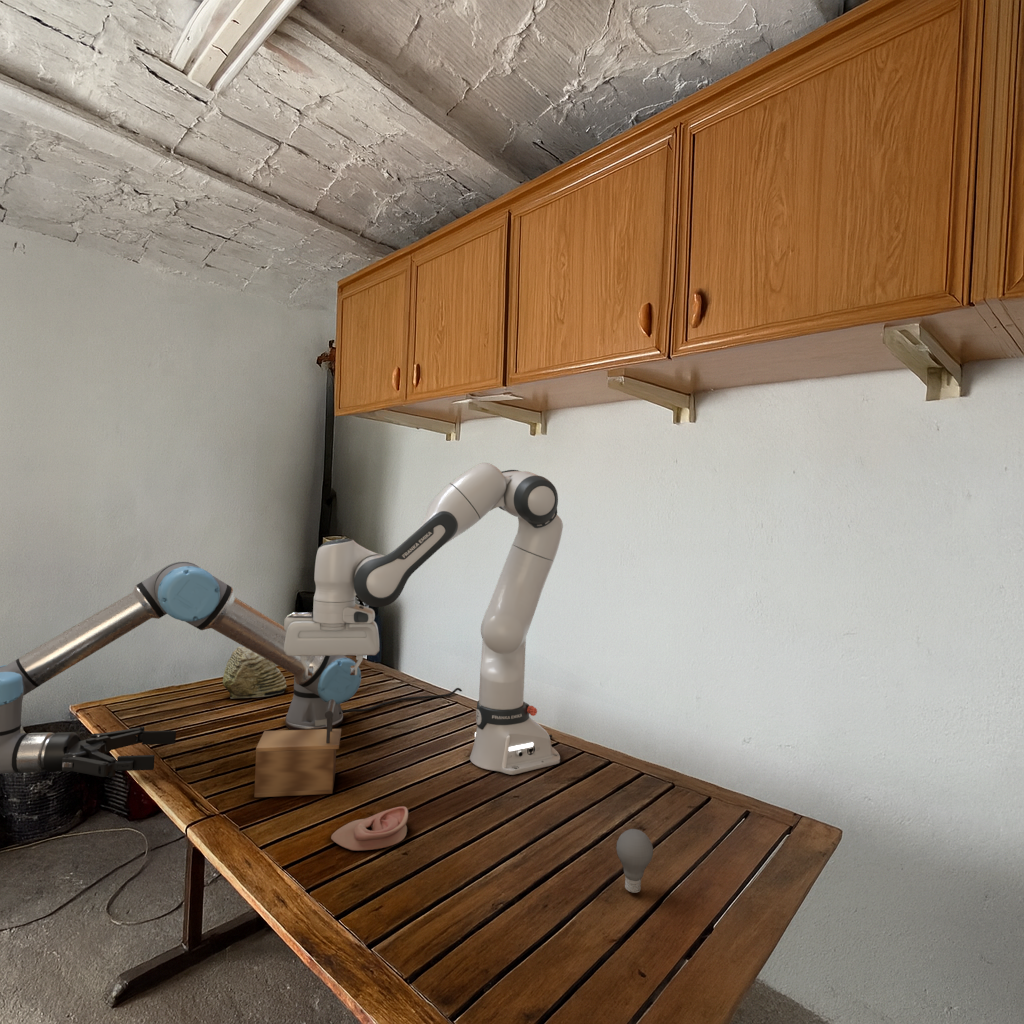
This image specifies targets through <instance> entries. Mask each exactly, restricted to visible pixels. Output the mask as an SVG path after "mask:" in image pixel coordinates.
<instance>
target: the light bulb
mask: <svg viewBox="0 0 1024 1024" xmlns="http://www.w3.org/2000/svg"><path fill="white" fill-rule="evenodd" d="M615 849H616V854H617V857H618V859H619V861H620V863H621V865H622V867H623V873H624V874H623V875H624V876H625V878H624V888H625V890H627V891H628V892H630V893H634V894H635V893H639V892H640V891H641V889H642V887H641V886H642V879H643V877H644V875H645V871H646V868H647V867H648V866H649V864H650V863H651V861H652V859H653V855H654V847H653V843H652V841H651V838H649V836H648V835H647V834H646V833H645V832H643V831H642V830H641V829H636V828H629V829H627V830H625V831H623V832H622V833H621V834H620V835H619V837H618V839H617V841H616V847H615Z"/></svg>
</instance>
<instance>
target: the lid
mask: <svg viewBox="0 0 1024 1024" xmlns="http://www.w3.org/2000/svg"><path fill="white" fill-rule="evenodd" d="M335 704H336V702H335V700H333V699H331V700H329V701H328V704H327V708H326V712H325V717H326V718H327V729H314V730H292V729H284V730H283V729H282V730H280V729H279V730H264V731H263V733H262V735H261V737H260V739H259V741H258V743H257V745H256V747H255V753H256V752H267V751H295V750H323V749H336V750H339V749H340V743H341V737H342V728H333V729H332V721H333V714H334V709H335Z"/></svg>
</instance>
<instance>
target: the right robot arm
mask: <svg viewBox="0 0 1024 1024" xmlns="http://www.w3.org/2000/svg"><path fill="white" fill-rule="evenodd" d="M558 504H559V495H558V490H557V489H556V486H555V484H553V482H551V481H550V480H549V479H548V478H546V477H544V476H542V475H539V474H536V473H535V472H534V473H533V472H531V471H526V470H525V471H523V470H518V469H507V470H503V471H502V470H500V469H499V468H498V467H497V466H495V465H493V464H492V463H489V462H481V463H478V464H475V465H474V466H473V467H471V468H469V469H467V470H466V471H464V472H463V473H461V474H460V475H458V476H457V477H455V478H454V479H453V480H452V481H450V482H449V483H448V484H447V485H445V486H444V487H443V488H442V489H441V490H440V491H439V492H438V493H437V494H436V495H435V496H434V498H433V499H432V500H431V501H430V503H429V504H428V506H427V510H426V513H425V517H424V519H423V521H422V522H421V524H420V525H419V526H418V528H417V529H415V530H414V532H412V533H411V534H410V535H409V536H408V537H407V538H406V539H404V540H403V541H402V542H401V543H400V544H399V545H397V546H396V547H395V548H394V549H393V550H392V551H391V552H389V553H387V554H385V555H384V554H381V553H379V552H378V553H377V552H375V551H373V550H370V549H367V548H366V547H364V546H362V545H361V544H359V543H357V542H356V541H355V540H354V539H353V538H337V539H332V540H327V541H324V542H323V543H322V544H321V545H320V546H319V547H318V548H317V552H316V556H315V563H314V575H313V576H314V577H313V578H314V579H313V580H314V584H315V592H314V594H313V595H314V596H313V606H312V608H313V609H312V611H309V612H308V611H307V612H297V611H293V612H291V613H290V614H288V615H286V616H285V617H284V619H283V626H284V630H285V631H286V632H287V633H286V637H285V643H284V652H285V654H286V655H287V656H301V662H302V664H303V666H304V667H305V668H306V676H313V666H309V664H308V662H307V660H308V656H339V655H344V656H356V657H355V660H356V662H355V663H356V664H355V666H351V669H350V671H351V672H350V675H357V668H358V667H359V668H360V666H361V664H362V662H363V660H364V656H377V654H378V653H379V652H380V634H379V627H378V624H377V622H376V621H375V618H376V613H375V610H374V609H373V608H384V607H387V606H390V605H391V604H393V603H394V602H395V601H397V600H398V598H399V597H400V596H401V594H402V592H403V590H404V588H405V586H406V584H407V582H408V580H409V578H410V577H411V576H412V575H413V574H414V573H415V572H416V571H417V570H418V569H419V568H420V567H421V566H423V565H424V564H425V562H427V561H428V560H429V559H430V558H431V557H432V556H433V555H435V553H436V552H437V551H439V550H440V549H442V547H443V546H444V545H446V544H448V543H449V542H451V541H452V540H454V539H456V538H457V537H459V536H460V535H463V533H465V532H466V531H468V530H470V528H472V527H473V526H475V525H476V524H477V523H478V522H479V521H480V520H482V519H483V518H484V517H485V516H487V514H488V513H489V512H491V511H493V510H494V509H497V508H499V509H500V510H502V511H505V512H506V513H508V514H510V515H511V516H514V517H516V518H517V520H518V525H517V526H518V528H517V533H516V534H515V537H514V539H513V542H512V544H511V546H510V549H509V551H508V554H507V557H506V558H505V561H504V564H503V566H502V570H501V572H500V574H499V577H498V580H497V582H496V585H495V588H494V590H493V593H492V595H491V597H490V600H489V602H488V603H489V604H488V606H487V608H486V610H485V612H484V615H483V618H482V621H481V625H480V636H481V639H482V641H481V642H482V643H481V655H480V656H481V657H480V658H481V659H480V667H479V669H480V670H479V691H478V692H479V693H478V701H477V702H476V710H475V723H476V730H475V732H474V742H473V746H472V750H471V753H470V755H469V760H470V762H471V763H472V764H473V765H475V766H476V767H478V768H480V769H484V770H487V771H488V770H489V771H494V772H500V773H502V774H506V775H511V776H514V775H519V774H522V773H527V772H530V771H534V770H539V769H543V768H546V767H551V766H554V765H559V764H560V763H561V756H560V754H559V752H558V751H557V749H556V748H554V747H553V746H552V741H551V739H552V738H553V735H552V734H549V733H548V731H547V729H545V728H544V727H543V726H542V725H540V724H539V723H538V722H537V721H536V720H535V719H533V718H532V717H531V716H533V717H535V716H537V714H538V709H537V708H536V707H535V706H534V705H530V704H529V703H527V702H526V701H524V698H525V697H524V695H525V678H526V677H525V674H526V673H525V671H526V645H527V644H526V643H527V635H528V632H529V630H530V627H531V624H532V621H533V620H534V619H533V618H534V616H535V613H536V610H537V607H538V604H539V601H540V598H541V595H542V592H543V589H544V587H545V585H546V582H547V580H548V577H549V575H550V571H551V569H552V566H553V564H554V561H555V559H556V556H557V554H558V550H559V547H560V543H561V539H562V535H563V528H564V523H563V520H562V519H561V516H559V515H558V506H559V505H558ZM356 596H357V598H358V600H360V601H361V602H362V603H364V605H366V606H364V605H362V604H358V603H356ZM367 606H369V607H367ZM371 607H373V608H371Z"/></svg>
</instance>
